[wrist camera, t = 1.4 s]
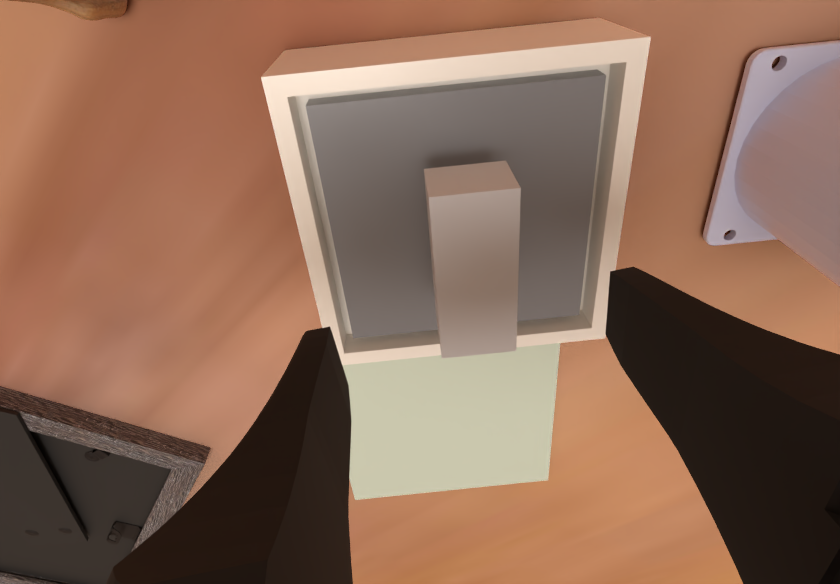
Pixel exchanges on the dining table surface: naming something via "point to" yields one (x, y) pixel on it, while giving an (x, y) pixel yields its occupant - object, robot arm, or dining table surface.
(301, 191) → the tray
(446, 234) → the grey cover
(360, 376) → the sage mat
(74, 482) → the picture frame
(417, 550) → the dining table surface
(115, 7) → the lion figurine
